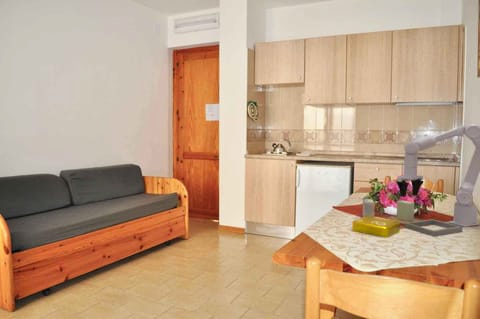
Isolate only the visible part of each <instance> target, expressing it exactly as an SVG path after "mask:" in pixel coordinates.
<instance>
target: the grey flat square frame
mask: <svg viewBox="0 0 480 319" xmlns="http://www.w3.org/2000/svg"><path fill="white" fill-rule="evenodd" d="M423 220H424V221H416V222H409V223H405V226H404V228H405V229H407V230H411V231H415V232H418V233H420V234H424V235H427V236H431V237H438V236H444V235H451V234H456V233H463V230H464V229H463V227H464V226H460V225H456V224H452V223H449V222H447V221H441V220H436V219H434V218H432V219H423ZM431 225H434V226H437V227H440V228H442V229H436V230H433V229H430V228H425V226H431ZM423 226H424V227H423Z"/></svg>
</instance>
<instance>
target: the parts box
mask: <svg viewBox="0 0 480 319" xmlns="http://www.w3.org/2000/svg"><path fill="white" fill-rule="evenodd" d="M396 216H397V219H401V220H404V221H413V220H414V217H415V202H413V201H407V200H397V201H396Z"/></svg>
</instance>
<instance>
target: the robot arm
mask: <svg viewBox="0 0 480 319" xmlns="http://www.w3.org/2000/svg"><path fill="white" fill-rule="evenodd" d="M464 135H465V136H466V137H467V138H468V139H469V140H470V141H471V142H472V143H473V146H474V147H475V148H474V151H473V154H472V157H471V158H470V163H469V165H468V168H467V171H466V174H465V176H464V179H463V182H462V183H461V186H460V187H459V188H458V189H457V191H456V193H455V199H456V201H454V203H453V204H454V206H453V220H452V221H451V220H450V221H448V223H449V224H453V225H457V226H461V227H472V226H478V225H479V223H478V216H479V215H478V214H479V212H478V211H479V210H478V207H477V206H476V205H475V204H474V203H473V199H474V196H473V193H474V190H475V186H476V183H477V180H478V178H479V174H480V125H478V124H475V123H471V124H468V125H463V126H458V127H455V128H451V129H449V130H447V131H444V132H441V133H439V134H436V135H433V134H431V133H430V134H424V135H423V136H422V137H419V138H414V139H413V140H412V141H411V140H410V141H408V142H406V143H405V145H404V151H405V152H404V157H403V158H404V159H403V160H404V161H403V175H401V176H397V177H396V185H397V186H398V189H399V193H400V196H401V197H403V198H406V197H407V190H408V187H409V184H410V182H411V187H412V189H411V190H412V196H415V197H417V196H418V195H419V192H420V189H421V187H422V186H423V184H424V176H423V175H418V165H419V164H418V163H419V162H418V160H419V158H418V155H419V154H418V152H419V151H420V152H422V151H425V150H428V149H430V148H433V147H436V146H437V144H438V142H439V143H440V142H442V141H444V140H445V141H446V140H448V139H451V138H454V137H460V138H461V137H462V138H464Z"/></svg>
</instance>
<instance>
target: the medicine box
mask: <svg viewBox="0 0 480 319" xmlns="http://www.w3.org/2000/svg"><path fill="white" fill-rule="evenodd" d="M361 213H362V214H361V215H362V217H365V216H373V217H375V202H374V200H373V199H372V198H363V199H362V212H361ZM362 217H361V218H362Z"/></svg>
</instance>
